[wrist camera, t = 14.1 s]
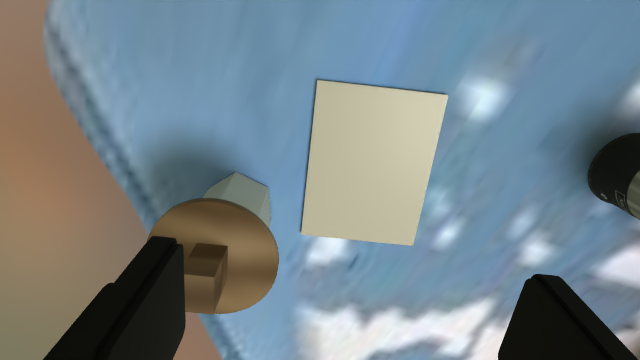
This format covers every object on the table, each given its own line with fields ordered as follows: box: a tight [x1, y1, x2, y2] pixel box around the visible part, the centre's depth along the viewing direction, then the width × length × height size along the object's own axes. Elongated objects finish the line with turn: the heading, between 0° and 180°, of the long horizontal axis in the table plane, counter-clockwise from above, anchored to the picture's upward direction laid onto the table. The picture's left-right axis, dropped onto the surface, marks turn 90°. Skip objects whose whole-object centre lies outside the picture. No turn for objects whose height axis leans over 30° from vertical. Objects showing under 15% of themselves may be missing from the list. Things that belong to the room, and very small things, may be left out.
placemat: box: [301, 80, 448, 246], centre depth 47 cm, size 20×15×1 cm
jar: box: [202, 172, 272, 228], centre depth 44 cm, size 9×8×12 cm
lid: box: [147, 198, 279, 314], centre depth 36 cm, size 13×13×6 cm
